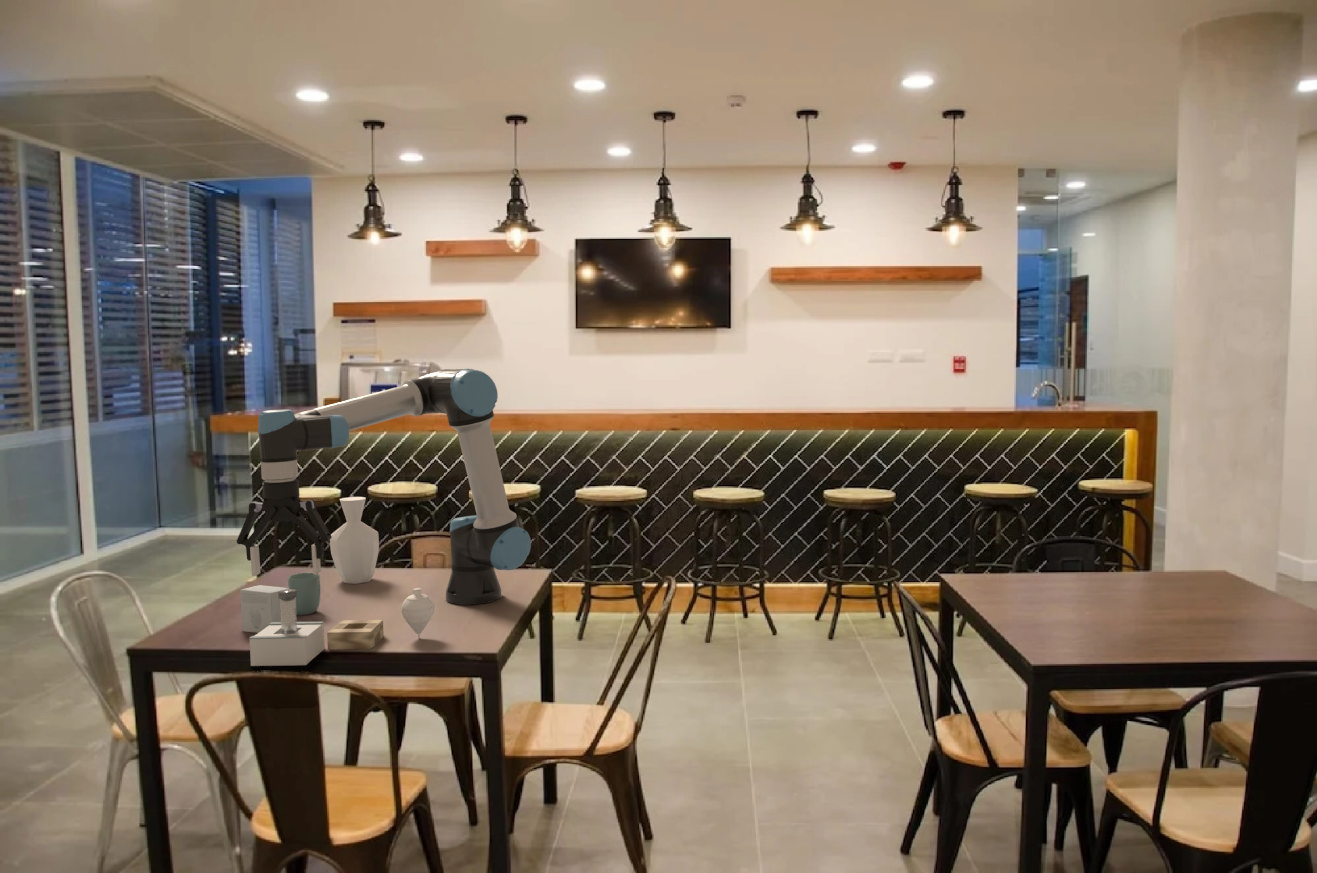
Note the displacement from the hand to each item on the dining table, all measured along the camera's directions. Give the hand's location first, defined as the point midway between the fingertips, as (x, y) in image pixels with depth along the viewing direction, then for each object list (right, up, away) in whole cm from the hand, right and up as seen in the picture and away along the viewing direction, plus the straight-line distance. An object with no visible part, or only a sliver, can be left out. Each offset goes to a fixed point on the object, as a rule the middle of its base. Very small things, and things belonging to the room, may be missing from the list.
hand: (286, 573), depth 211 cm
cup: (-10, -16, +38) cm, 43 cm away
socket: (0, -19, +1) cm, 19 cm away
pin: (0, -19, +1) cm, 19 cm away
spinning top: (+26, -18, +14) cm, 35 cm away
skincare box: (-14, -18, +23) cm, 32 cm away
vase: (-8, -13, +74) cm, 76 cm away
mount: (+12, -18, +11) cm, 24 cm away
